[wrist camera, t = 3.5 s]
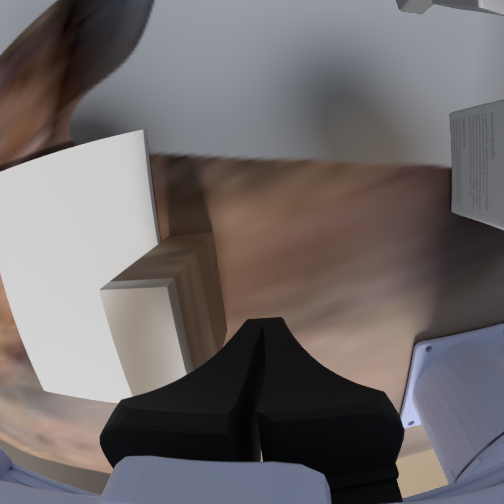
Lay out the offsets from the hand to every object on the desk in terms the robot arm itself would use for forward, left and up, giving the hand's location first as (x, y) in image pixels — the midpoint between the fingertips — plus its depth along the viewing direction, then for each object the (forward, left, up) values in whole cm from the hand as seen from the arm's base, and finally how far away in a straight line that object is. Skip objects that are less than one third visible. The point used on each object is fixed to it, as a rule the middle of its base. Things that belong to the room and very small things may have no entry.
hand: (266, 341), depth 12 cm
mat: (+13, 0, -6) cm, 14 cm away
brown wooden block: (+4, 0, -6) cm, 8 cm away
